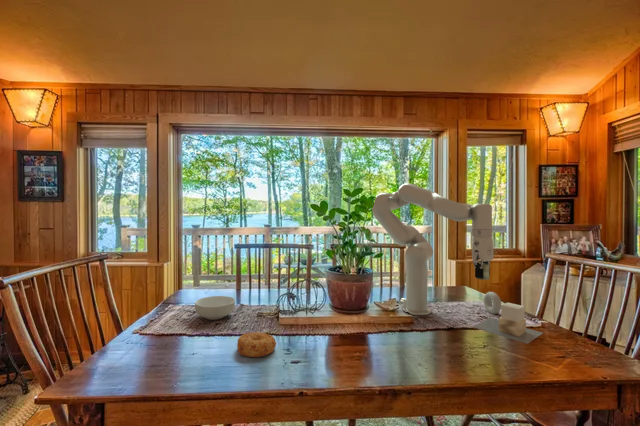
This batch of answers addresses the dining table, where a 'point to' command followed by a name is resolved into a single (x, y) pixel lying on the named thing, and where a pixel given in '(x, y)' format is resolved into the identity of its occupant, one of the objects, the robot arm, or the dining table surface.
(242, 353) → the bagel
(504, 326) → the base block
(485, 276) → the cylinder
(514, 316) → the top block
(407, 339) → the dining table surface
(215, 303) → the cereal bowl
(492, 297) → the donut
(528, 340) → the tile
